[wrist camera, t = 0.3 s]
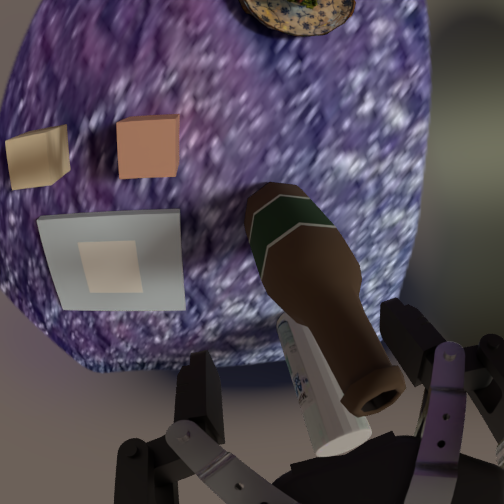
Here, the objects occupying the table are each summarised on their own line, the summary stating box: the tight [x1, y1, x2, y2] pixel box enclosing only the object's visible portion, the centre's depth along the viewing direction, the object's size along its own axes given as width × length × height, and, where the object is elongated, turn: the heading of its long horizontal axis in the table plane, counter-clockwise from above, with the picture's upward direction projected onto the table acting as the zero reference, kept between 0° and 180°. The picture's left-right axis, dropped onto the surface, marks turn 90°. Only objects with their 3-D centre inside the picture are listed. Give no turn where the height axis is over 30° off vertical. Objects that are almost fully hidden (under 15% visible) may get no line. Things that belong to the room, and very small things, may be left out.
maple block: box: [5, 124, 70, 190], centre depth 23 cm, size 5×5×5 cm
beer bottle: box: [244, 182, 406, 418], centre depth 23 cm, size 8×8×24 cm
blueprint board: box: [37, 209, 185, 311], centre depth 33 cm, size 13×17×1 cm
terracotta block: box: [117, 114, 180, 179], centre depth 25 cm, size 5×5×5 cm
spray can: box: [277, 312, 372, 457], centre depth 34 cm, size 6×6×20 cm
